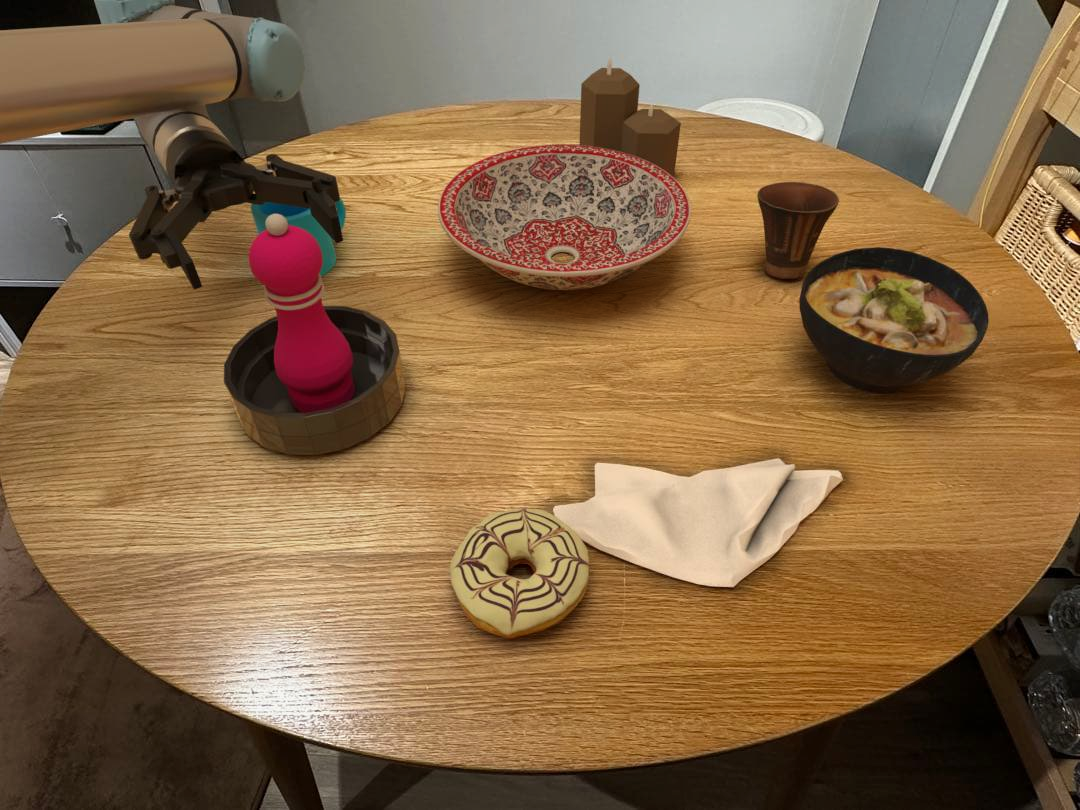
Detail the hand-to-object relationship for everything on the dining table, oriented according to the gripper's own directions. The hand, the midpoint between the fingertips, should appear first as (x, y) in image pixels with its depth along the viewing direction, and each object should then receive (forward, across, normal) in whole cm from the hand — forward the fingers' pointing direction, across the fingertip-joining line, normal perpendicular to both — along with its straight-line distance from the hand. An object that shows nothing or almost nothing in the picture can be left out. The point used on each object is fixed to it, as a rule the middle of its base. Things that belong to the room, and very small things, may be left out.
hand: (268, 252), depth 71 cm
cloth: (+38, -21, -14) cm, 46 cm away
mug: (-19, -9, -14) cm, 25 cm away
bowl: (+33, -49, -14) cm, 61 cm away
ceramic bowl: (-1, -34, -14) cm, 37 cm away
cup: (+15, -55, -14) cm, 59 cm away
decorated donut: (+35, -5, -14) cm, 38 cm away
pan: (+6, 0, -14) cm, 15 cm away
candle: (-15, -53, -14) cm, 57 cm away
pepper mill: (+6, 0, -13) cm, 15 cm away
